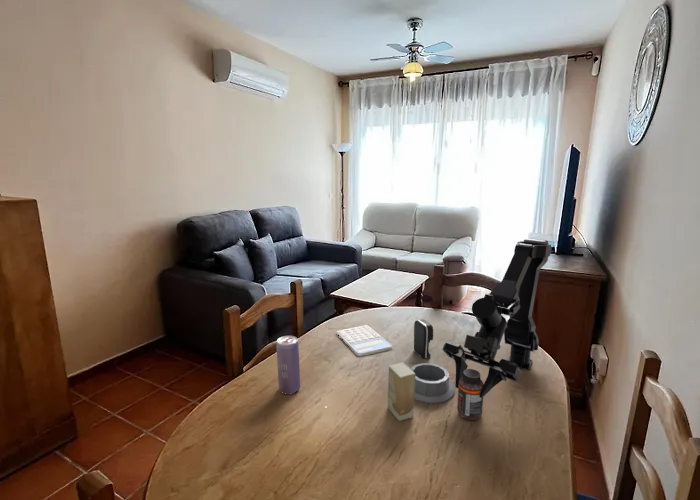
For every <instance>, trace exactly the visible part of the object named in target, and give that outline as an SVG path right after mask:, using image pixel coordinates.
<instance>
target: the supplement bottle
mask: <svg viewBox="0 0 700 500" xmlns="http://www.w3.org/2000/svg"><path fill="white" fill-rule="evenodd" d="M483 385H484V381H483V380H482V379H481V373H480V372H479V370H477V369H473V368H467V369H466V370H464V372H463V377H461V378H460V380H459V386H458V388H457V389H458V391H457V412H458V415H459V416H461V418H463V419H465V420H470V421H474V420H478V419H480V418H481V416H482V415H483V408H484V407H483V403H484V397H483V398H480V393H481V390H482V387H483Z"/></svg>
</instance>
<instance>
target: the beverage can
mask: <svg viewBox="0 0 700 500" xmlns="http://www.w3.org/2000/svg"><path fill="white" fill-rule="evenodd" d="M275 347H276V361H277V363H276V364H277V379H278V382H277V383H278V390H279V391H280V393H282V392H283V393H286V394H285V395H291V394H290V393H294V394H295V392H296V391H297V392H299V390H300V388H301V375H300V373H301V372H300V371H301V369H300V352H299V349H300V348H299V341H298V338H297V337H296V336H294V335H284V336H281V337H279V338H277V340H276V346H275ZM297 392H296V393H297ZM283 393H282V394H283Z"/></svg>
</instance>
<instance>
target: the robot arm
mask: <svg viewBox="0 0 700 500" xmlns="http://www.w3.org/2000/svg"><path fill="white" fill-rule="evenodd" d="M552 249H553V247H552V244H549V241H548V240H546V239H545V240H544V239H537V238H528V237H525V238H524V240H523V241H522V240H520V241H517V242H516V245H515V246H514V253H513V256H512V257H511V260H510V263H509V264H508V267H507V269H506V271H505V273H504V276H503V277H502V280H501V281H500V282H499V283H498V284H495V285H494V286H493V287H492V289H491V290H490V292H489V293H485V294H484V297H481V298H478V299H477V300H475V301H474V302H472V305H471V312H472V314H473V315H474V317H475V318H476V320H477V322H478V323H479V325H480V327H479V330H478V331H476V332H475V334H474V335H470V334H466V337H465V340H464V344H463V347H462V345H461V344H458V343H455V342H452V341H449V340H448V341H447V342H445V343H444V344H443V347H442V349H441V350H442V351H443V352H444V353H445V355H446V356H447V357H449V358H450V359H453V361H454V363H455V381H454V383H455V385H454V388H456V389H458V386H459V380H460V378H461V377H463V372H464V370H466V369H468V367H469V366H468V363H467V362H466V361H467V360H468V361H471V362H474V363H477V364H480V365H483V366H486V367H488V374H487V377H486V379H485V382H483V384H484V385H483V387H482V390H481V393H480V398H483V399H484V397H485V396H486V395H487V394H488V393H489V392H490V391H491V390H492V389H493V388H494V387H495V386H497V385H498V384H499V383H501V382H502V381H505V382H507V379H509V380H511V381H513V382H514V381H515V382H516V383H517V382H520V380H521V378H522V371H521V369H523V370H527V371H529V370H530V369H531V366H532V363H533V360H532V359H531V355H532V354H531V353H532V352H534V351H538V349H539V344H540V343H539V341H540V339H539V337H538V334H537V332H536V324H535V320H534V319H533V310H534V304H535V299H536V293H537V288H538V282H539V277H540V270H541V269H542V268H543V267H544V266H545V265H546V264H547V262H548V259H549V257H550V256H551V254H552ZM503 315H505V316H509V317H510V318H508V320H507V319H506V317H505V316H503ZM503 337H504V344H506V345H509V346H510V352H509V357H508V359H504V358H501V359H500V360H499V361H497V360H496V359H495V358H496V355H497V354H498V353H497V352H498V350H500V349H501V342H502V339H503ZM464 348H465V349H467V350H468V351H466V350H465V349H464Z"/></svg>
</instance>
